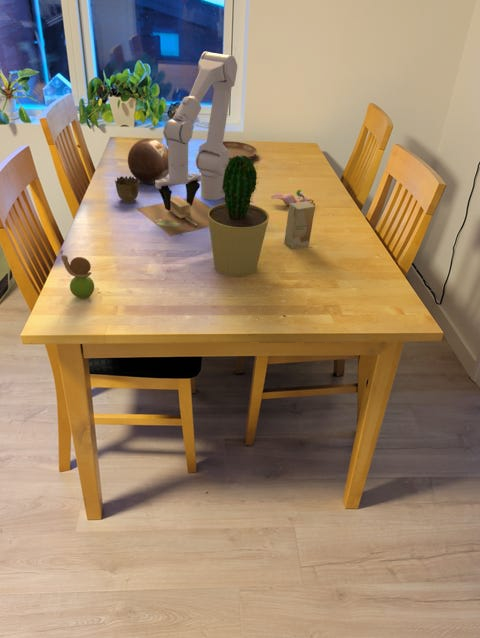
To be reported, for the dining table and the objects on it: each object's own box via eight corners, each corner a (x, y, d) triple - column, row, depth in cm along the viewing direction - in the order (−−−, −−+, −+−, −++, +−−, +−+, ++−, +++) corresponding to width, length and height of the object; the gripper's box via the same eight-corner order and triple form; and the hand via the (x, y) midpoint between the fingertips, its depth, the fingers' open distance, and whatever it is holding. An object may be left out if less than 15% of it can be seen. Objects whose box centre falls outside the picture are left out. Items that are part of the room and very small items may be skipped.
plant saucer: (256, 166, 205) (257, 158, 203) (204, 163, 204) (205, 155, 202) (256, 150, 222) (256, 142, 220) (208, 147, 221) (208, 139, 219)
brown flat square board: (194, 200, 173) (194, 196, 172) (231, 224, 158) (231, 220, 158) (136, 211, 162) (136, 208, 162) (170, 239, 148) (170, 235, 147)
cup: (135, 209, 164) (133, 185, 159) (113, 206, 165) (111, 182, 160) (143, 201, 170) (142, 177, 165) (122, 198, 171) (120, 174, 166)
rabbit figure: (310, 206, 178) (268, 198, 175) (315, 189, 175) (272, 181, 172) (313, 213, 173) (270, 205, 170) (319, 196, 170) (275, 188, 167)
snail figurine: (69, 290, 123) (62, 245, 116) (96, 290, 124) (91, 245, 117) (65, 302, 119) (57, 256, 112) (93, 302, 120) (87, 256, 113)
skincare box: (291, 249, 147) (296, 209, 140) (283, 243, 150) (288, 203, 143) (310, 245, 150) (316, 206, 143) (301, 239, 153) (307, 200, 146)
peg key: (178, 208, 164) (178, 195, 161) (202, 225, 154) (203, 212, 152) (166, 210, 161) (166, 198, 159) (190, 228, 152) (190, 215, 149)
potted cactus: (245, 287, 129) (253, 169, 112) (195, 268, 135) (195, 154, 118) (274, 263, 140) (286, 152, 122) (227, 247, 146) (232, 139, 129)
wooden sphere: (160, 193, 176) (159, 148, 168) (121, 185, 180) (117, 142, 171) (178, 179, 188) (178, 137, 179) (141, 172, 191) (139, 131, 183)
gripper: (162, 170, 144) (163, 216, 152) (206, 163, 152) (205, 207, 159) (151, 163, 149) (152, 207, 157) (194, 156, 156) (194, 199, 164)
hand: (178, 207), depth 158 cm, fingers open, 7 cm apart
